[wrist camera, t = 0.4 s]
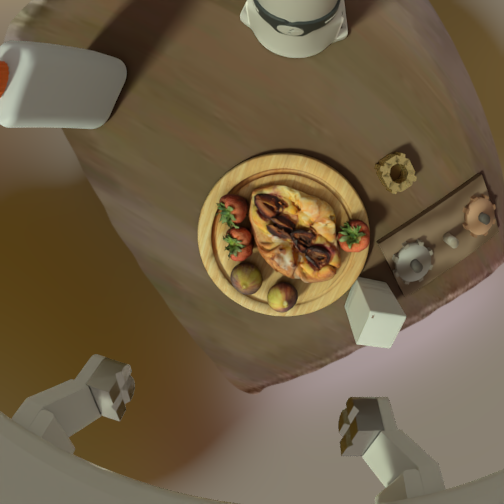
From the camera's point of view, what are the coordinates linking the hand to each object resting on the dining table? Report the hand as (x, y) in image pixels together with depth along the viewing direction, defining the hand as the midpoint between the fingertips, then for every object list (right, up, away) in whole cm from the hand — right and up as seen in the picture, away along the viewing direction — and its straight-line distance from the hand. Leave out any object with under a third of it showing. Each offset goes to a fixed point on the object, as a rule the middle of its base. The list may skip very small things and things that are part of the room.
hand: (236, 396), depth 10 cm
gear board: (+39, +9, +41) cm, 57 cm away
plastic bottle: (-31, +38, +37) cm, 62 cm away
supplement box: (+24, -3, +48) cm, 54 cm away
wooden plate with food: (+6, +8, +46) cm, 47 cm away
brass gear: (+26, +20, +38) cm, 50 cm away
